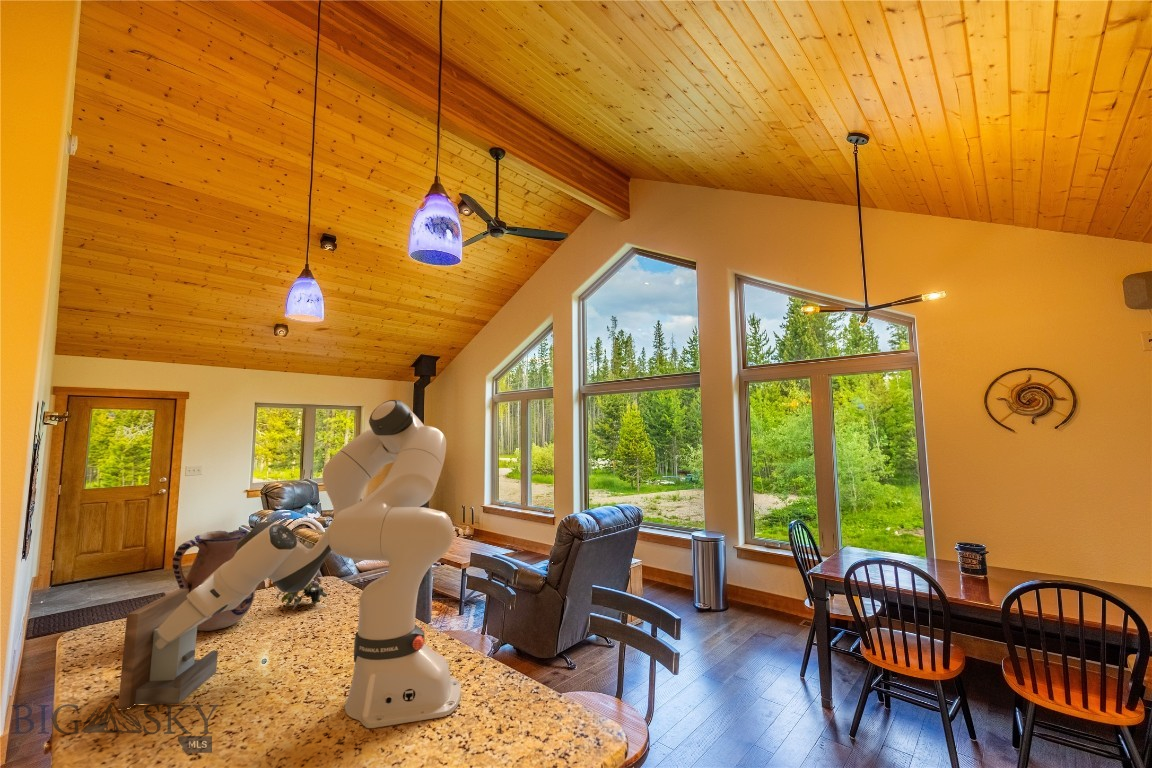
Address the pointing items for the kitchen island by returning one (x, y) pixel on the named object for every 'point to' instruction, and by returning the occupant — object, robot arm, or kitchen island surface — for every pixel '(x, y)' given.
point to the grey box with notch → (173, 656)
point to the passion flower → (310, 591)
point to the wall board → (140, 653)
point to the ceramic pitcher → (211, 571)
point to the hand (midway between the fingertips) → (172, 637)
